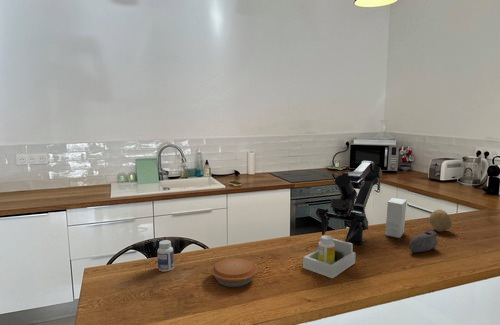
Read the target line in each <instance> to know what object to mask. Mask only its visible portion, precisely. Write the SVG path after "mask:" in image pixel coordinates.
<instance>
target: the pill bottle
mask: <svg viewBox="0 0 500 325" xmlns="http://www.w3.org/2000/svg"><path fill="white" fill-rule="evenodd" d="M158 246H159V247H158V249H157V267H158V268H157V269H158V270H159V271H161V272H170V271H171V270H174V268H175V264H174V263H175V262H174V257H175V256H174V248H173V246H172V242H171V240H168V239H166V240H165V239H164V240H160V241H159V243H158Z"/></svg>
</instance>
